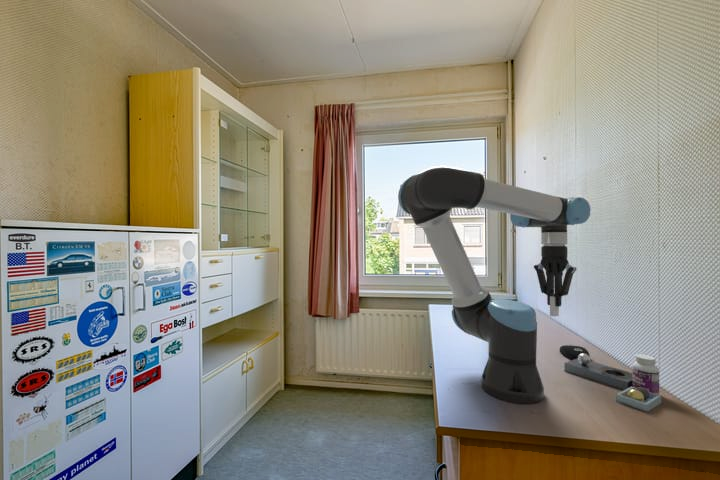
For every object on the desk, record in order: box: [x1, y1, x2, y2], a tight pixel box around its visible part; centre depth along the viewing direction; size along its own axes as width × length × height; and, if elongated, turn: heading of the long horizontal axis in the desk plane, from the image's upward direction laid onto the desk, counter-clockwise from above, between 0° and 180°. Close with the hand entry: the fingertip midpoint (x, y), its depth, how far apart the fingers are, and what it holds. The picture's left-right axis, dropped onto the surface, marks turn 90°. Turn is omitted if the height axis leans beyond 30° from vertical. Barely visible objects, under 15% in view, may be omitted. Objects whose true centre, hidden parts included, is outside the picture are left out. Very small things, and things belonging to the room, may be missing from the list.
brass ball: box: [627, 389, 644, 402], centre depth 79 cm, size 3×3×3 cm
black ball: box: [636, 387, 649, 399], centre depth 81 cm, size 3×3×3 cm
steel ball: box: [578, 353, 591, 364], centre depth 99 cm, size 3×3×3 cm
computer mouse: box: [559, 344, 591, 361], centre depth 113 cm, size 8×12×4 cm, turn 166°
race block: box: [564, 358, 633, 391], centre depth 95 cm, size 9×16×2 cm, turn 31°
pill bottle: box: [631, 353, 660, 395], centre depth 85 cm, size 5×5×10 cm
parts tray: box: [616, 387, 662, 413], centre depth 80 cm, size 9×6×2 cm, turn 121°
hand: (554, 315), depth 107 cm, fingers closed
